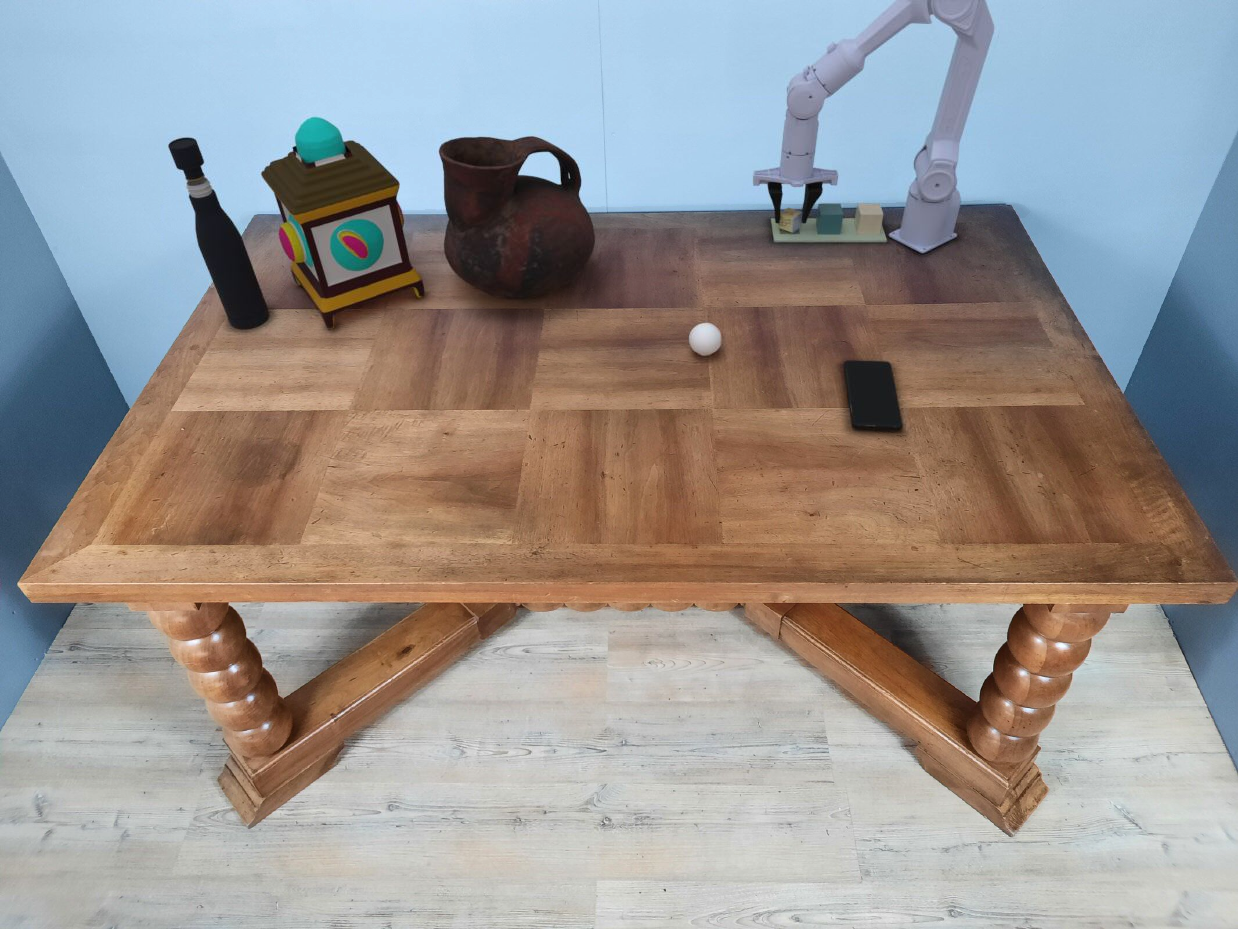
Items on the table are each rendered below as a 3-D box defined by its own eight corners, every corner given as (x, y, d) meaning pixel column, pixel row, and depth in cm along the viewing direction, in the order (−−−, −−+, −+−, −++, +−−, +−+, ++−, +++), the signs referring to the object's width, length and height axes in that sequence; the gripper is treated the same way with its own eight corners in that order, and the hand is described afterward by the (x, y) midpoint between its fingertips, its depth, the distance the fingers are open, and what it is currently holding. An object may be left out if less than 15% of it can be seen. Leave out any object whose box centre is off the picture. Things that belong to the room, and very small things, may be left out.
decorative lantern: (392, 248, 161) (353, 81, 140) (437, 298, 149) (401, 123, 128) (285, 283, 153) (227, 112, 132) (323, 338, 141) (265, 159, 120)
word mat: (879, 219, 163) (879, 217, 163) (886, 242, 157) (887, 239, 157) (770, 220, 164) (771, 217, 164) (774, 242, 158) (774, 239, 158)
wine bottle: (258, 331, 143) (190, 153, 122) (222, 327, 144) (149, 151, 123) (276, 308, 148) (214, 134, 127) (242, 305, 149) (174, 131, 128)
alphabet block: (792, 233, 159) (794, 218, 157) (777, 228, 160) (779, 213, 158) (801, 227, 161) (803, 211, 158) (786, 221, 162) (788, 206, 160)
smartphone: (852, 425, 121) (843, 359, 132) (851, 430, 122) (842, 364, 132) (903, 427, 120) (890, 360, 131) (902, 432, 121) (889, 365, 132)
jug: (618, 300, 146) (613, 156, 129) (472, 337, 140) (446, 191, 123) (569, 231, 163) (558, 95, 146) (437, 261, 157) (409, 123, 140)
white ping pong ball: (724, 346, 137) (726, 319, 133) (715, 364, 133) (717, 338, 130) (693, 340, 138) (694, 314, 134) (684, 358, 135) (685, 332, 131)
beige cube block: (876, 223, 161) (879, 203, 159) (879, 234, 158) (883, 214, 156) (854, 223, 162) (857, 203, 159) (857, 234, 159) (860, 214, 156)
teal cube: (837, 223, 162) (840, 203, 159) (840, 234, 159) (843, 214, 156) (815, 223, 162) (818, 203, 159) (817, 234, 159) (820, 214, 156)
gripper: (757, 159, 148) (751, 231, 157) (844, 158, 147) (833, 231, 156) (754, 140, 153) (749, 212, 162) (839, 140, 152) (828, 212, 161)
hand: (790, 220), depth 160 cm, fingers closed on alphabet block, 4 cm apart
